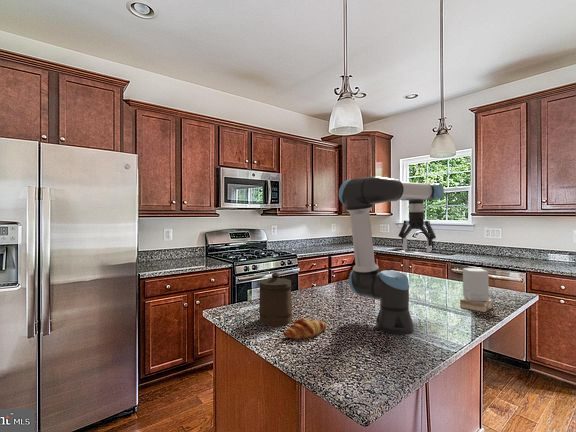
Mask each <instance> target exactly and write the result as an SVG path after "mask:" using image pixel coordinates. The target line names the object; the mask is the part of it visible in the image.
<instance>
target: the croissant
mask: <svg viewBox="0 0 576 432" xmlns="http://www.w3.org/2000/svg"><path fill="white" fill-rule="evenodd" d="M326 329H328V323H327V322H323V321H322V320H316V319H314V318H312V319H310V320H309V319H308V318H305V317H303V318H299V319H297V320H294V323H293V324H291V325H290V326H289V327H287V329H285V330H284V331H283V336H284V337H285V338H289V339H295V340H301V338H303V339H309V338H314V337H315V336H318V334H321V333H322V332H323V331H325V330H326Z"/></svg>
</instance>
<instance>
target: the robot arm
mask: <svg viewBox="0 0 576 432" xmlns="http://www.w3.org/2000/svg"><path fill="white" fill-rule="evenodd" d="M444 193H445V189H444V185H443V184H442V183H435V182H434V183H424V182H423V183H422V182H412V181H411V182H408V181H401V180H399V179H397V178H391V177H383V176H375V175H374V176H366V177H358V178H357V177H356V178H351V179H346V180H345V181H343V182H342V184H341V185H340V187H339V190H338V198H339V201H340V202H341V204H343V205H344V206H345V211H346V212H348V213H349V216H350V219H349V220H350V224H351V225H350V227H351V235H352V236H351V237H352V246H353V255H354V262H355V265H354V266H353V267H352V270H351V272H350V274H349V277H348V285H349V288H350V291H352V292H353V293H354V294H355V295H357V296H358V295H359V296H360V297H364V298H365V297H366V298H370V299H373V300H374V299H375V300H378V301H379V311H378V314H377V317H376V320H375V327H376V328H377V330H379V331H381V332H384V333H387V334H392V335H407V334H412V333H413V332H414V331H415V330H414V325H415V324H414V322H413V319H412V316H411V313H410V312H411V311H410V283H409V281H410V280H409V277H408V276H407V275H406V274H405V273H403V272H399V271H395V270H389V269H388V270H387V269H386V270H385V269H384V270H381V271H380V267H379V265H378V264H377V263H376V262H375V261H376V260H375V253H374V243H373V232H372V224H371V223H372V222H371V214H370V211H371V210H372V209H373V205H376V204H383V203H388V202H396V201H408V220H406V219H405V220H403V224H402V226H401V228H400V230H399V234H398V235H397V236H398V237H400V238H401V244H402V249H403V250H404V251H406V250H408V238H407V236H408V235H409V234H410V232H411V231H412V230H415V229H416V230H420V231H421V232H422V233H423V235H424V236H425V237H426V238H427V239H426V253H431V251H432V249H431V246H433V240H434V239H436V238H437V237H436V234H435V232H434V230H433V228H432V226H431V222H430V220H424V219H425V217H424V216H425V213H424V210H425V209H424V207H425V205H424V201H425V200H440V199H442V198H443V196H444ZM424 225H425V226H424Z"/></svg>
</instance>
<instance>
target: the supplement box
mask: <svg viewBox="0 0 576 432" xmlns="http://www.w3.org/2000/svg"><path fill="white" fill-rule="evenodd" d="M489 274H490V273H489V271H488V270H486V269H482V268H481V267H480V268H478V267H477V268H475V267H469V268H468V267H466V268H465V267H464V268H462V295H463V296H462V297H463V298H464V297H465V298H467V299H468V300H470V301H489V299H490V298H489V294H490V292H489V286H490V285H489V281H490V280H489Z"/></svg>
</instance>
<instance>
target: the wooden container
mask: <svg viewBox="0 0 576 432" xmlns="http://www.w3.org/2000/svg"><path fill="white" fill-rule="evenodd" d="M279 276H280V274H279V273H278V272H272V273H271V278H264V279H261V280H260V281H259V301H258V303H259V305H258V306H259V307H258V308H259V309H258V310H259V322H260V324H261V325H264V326H267V327H268V326H269V327H282V326H285V325H288V324H290V323H291V322H292V320H293V314H292V313H293V310H292V309H293V306H292V305H293V304H292V302H293V301H292V280H290V279H288V278H283V277H282V278H281V277H279ZM281 325H282V326H281Z"/></svg>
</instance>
